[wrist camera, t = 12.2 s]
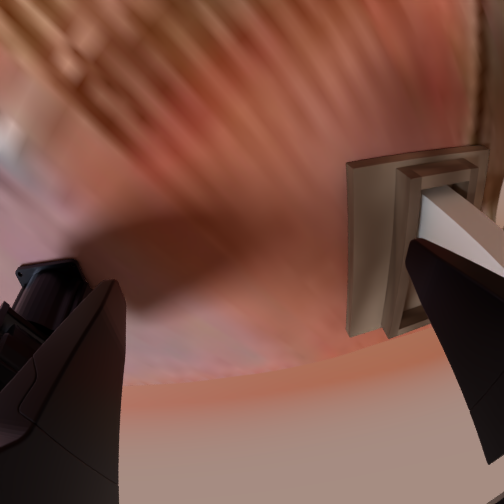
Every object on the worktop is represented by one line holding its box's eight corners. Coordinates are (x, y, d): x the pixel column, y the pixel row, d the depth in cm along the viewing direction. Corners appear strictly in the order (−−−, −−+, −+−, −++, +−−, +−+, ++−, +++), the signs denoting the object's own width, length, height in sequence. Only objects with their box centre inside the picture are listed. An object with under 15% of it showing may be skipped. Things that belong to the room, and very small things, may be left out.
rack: (345, 329, 32) (356, 352, 29) (345, 162, 22) (365, 180, 19) (451, 293, 32) (465, 311, 30) (480, 144, 22) (505, 158, 19)
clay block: (410, 241, 25) (508, 367, 14) (415, 188, 22) (542, 312, 11) (437, 234, 25) (535, 349, 14) (444, 183, 22) (567, 294, 11)
